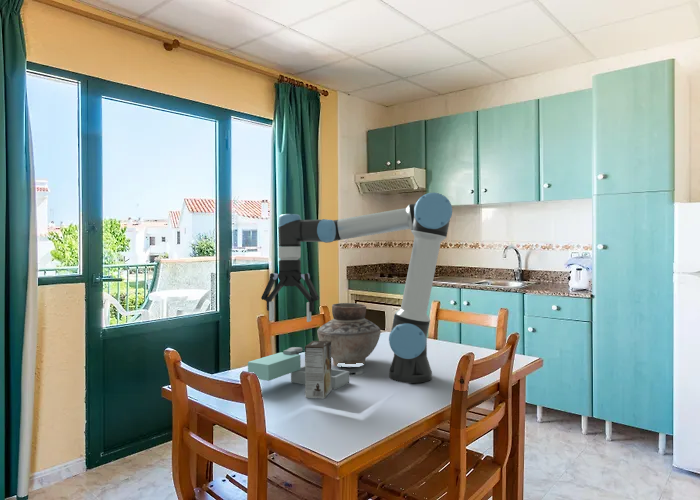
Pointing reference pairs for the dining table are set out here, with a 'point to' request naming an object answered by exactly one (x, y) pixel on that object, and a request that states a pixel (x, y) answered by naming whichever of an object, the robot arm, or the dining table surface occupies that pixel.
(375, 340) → the ceramic pot
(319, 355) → the coffee box
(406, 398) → the dining table surface
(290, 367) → the lid
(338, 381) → the grey box
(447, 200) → the robot arm
